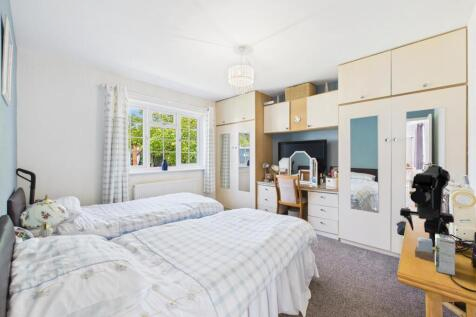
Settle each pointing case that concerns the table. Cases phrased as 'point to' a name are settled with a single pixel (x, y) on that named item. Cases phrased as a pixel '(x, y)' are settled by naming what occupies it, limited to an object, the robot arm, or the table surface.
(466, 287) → the table surface
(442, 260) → the syrup box
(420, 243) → the painted cube
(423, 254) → the walnut block
